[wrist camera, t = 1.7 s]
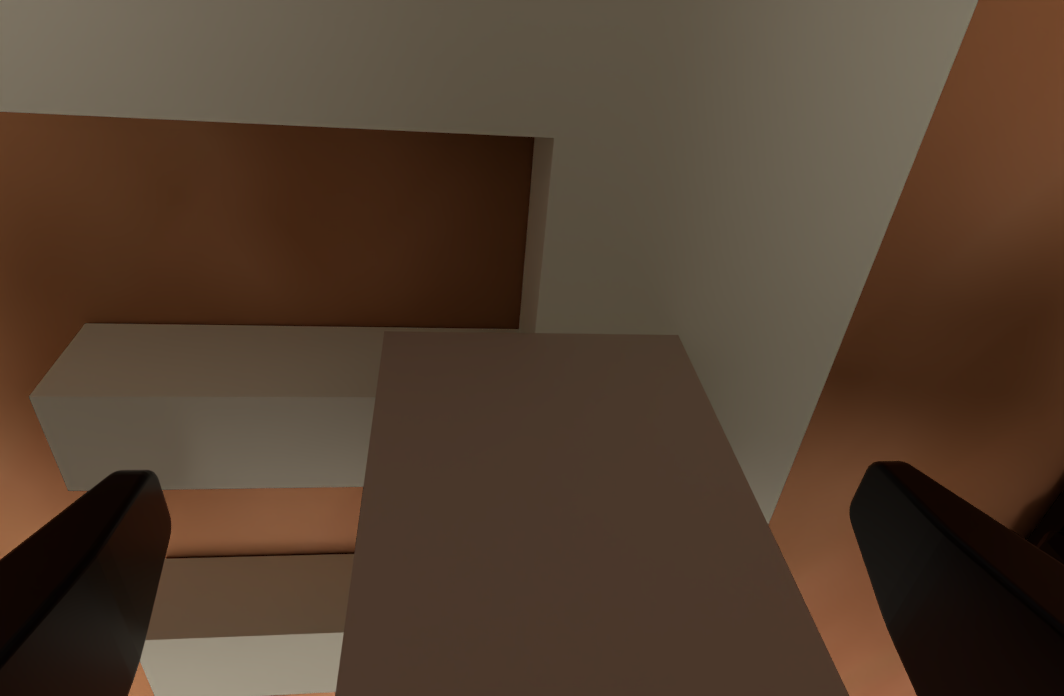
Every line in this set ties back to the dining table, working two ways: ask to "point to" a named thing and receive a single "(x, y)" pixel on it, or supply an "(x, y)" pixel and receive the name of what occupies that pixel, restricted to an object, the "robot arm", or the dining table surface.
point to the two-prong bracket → (512, 336)
